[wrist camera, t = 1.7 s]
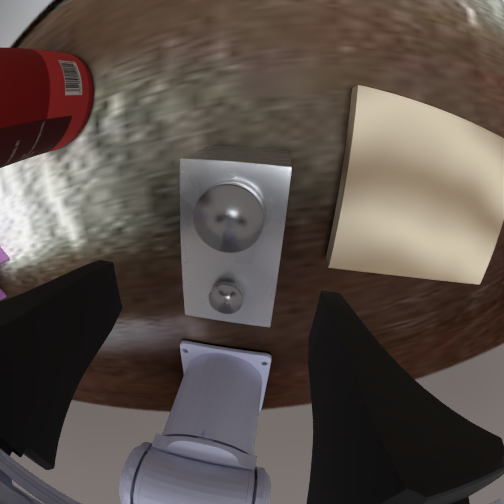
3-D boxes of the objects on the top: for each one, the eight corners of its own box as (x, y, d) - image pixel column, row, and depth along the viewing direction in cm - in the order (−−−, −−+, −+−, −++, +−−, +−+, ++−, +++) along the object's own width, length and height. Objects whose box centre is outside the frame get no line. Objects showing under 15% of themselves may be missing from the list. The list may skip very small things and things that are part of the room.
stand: (471, 274, 18) (479, 284, 16) (326, 256, 19) (328, 267, 17) (506, 143, 13) (518, 147, 11) (352, 87, 14) (358, 85, 12)
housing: (275, 269, 20) (268, 337, 13) (211, 261, 20) (180, 324, 14) (289, 151, 16) (292, 170, 10) (214, 145, 16) (172, 161, 10)
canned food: (52, 44, 13) (-57, 42, 3) (114, 71, 14) (-21, 63, 4) (21, 126, 16) (-79, 158, 6) (74, 164, 17) (-43, 217, 8)
